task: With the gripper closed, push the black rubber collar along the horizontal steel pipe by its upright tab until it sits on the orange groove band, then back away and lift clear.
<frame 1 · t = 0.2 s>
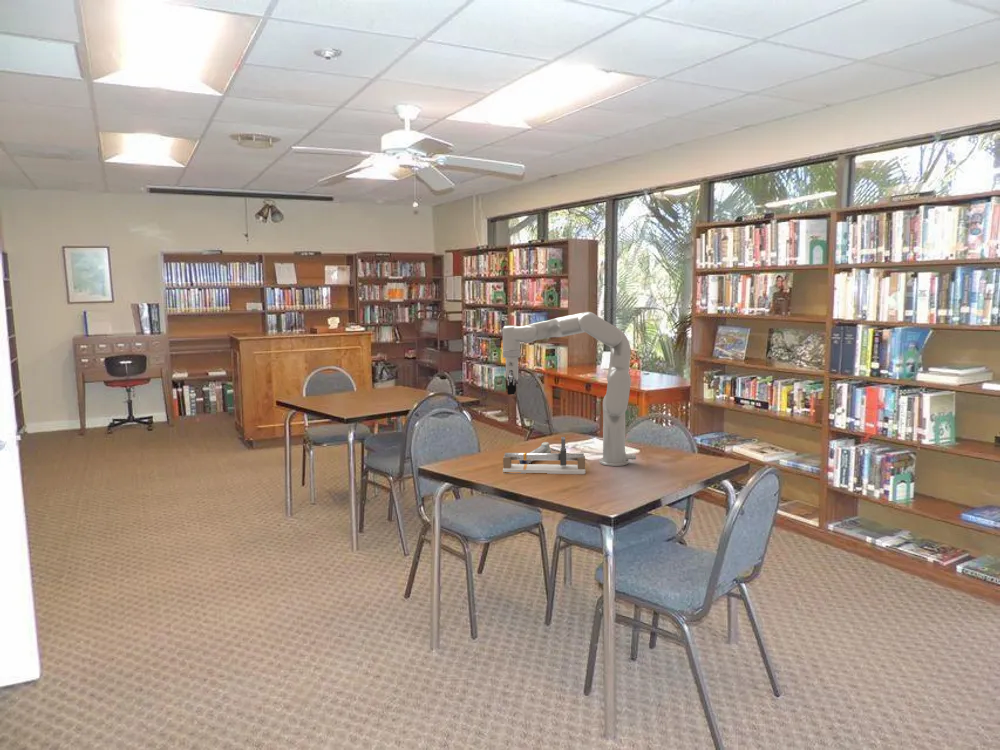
hand: (511, 392, 307), 31 cm above the table, tool pointing down, fingers open, 9 cm apart
pipe: (544, 456, 294), point 6 cm above the table
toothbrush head: (536, 460, 315), on the table
pipe base: (544, 470, 295), on the table
collar: (563, 451, 293), point 9 cm above the table, slide at 0.0 cm
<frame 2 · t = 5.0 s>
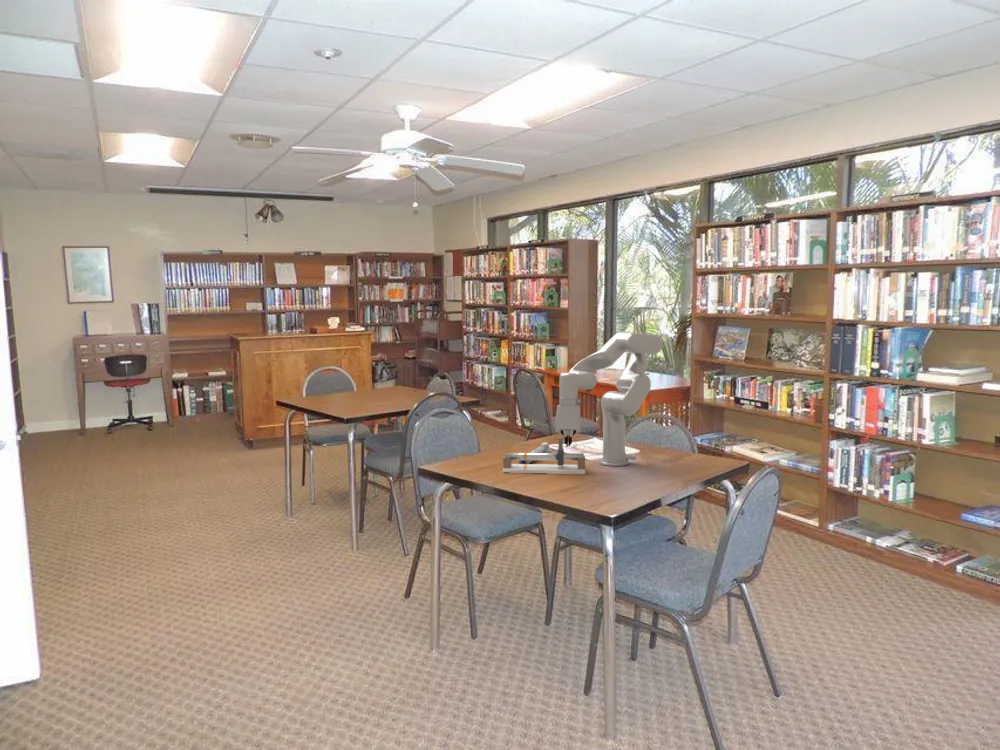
hand: (568, 445, 293), 11 cm above the table, tool pointing down, fingers closed
collar: (560, 451, 293), point 9 cm above the table, slide at 1.1 cm, touching gripper
everything else where it was.
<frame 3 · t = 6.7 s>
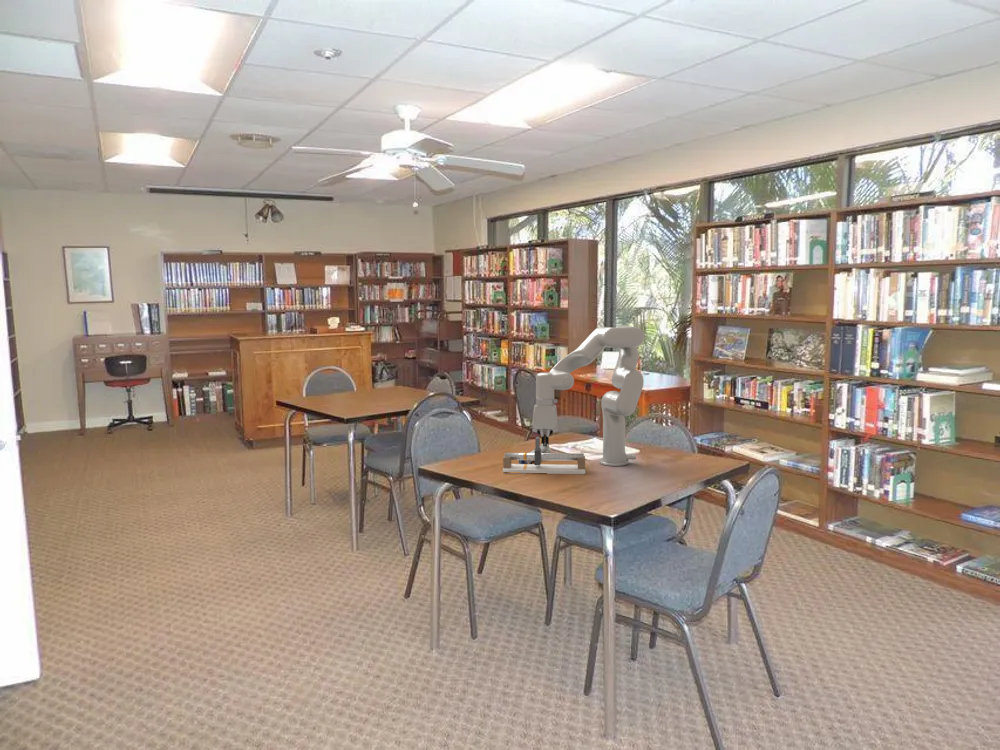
hand: (545, 445, 294), 11 cm above the table, tool pointing down, fingers closed
collar: (537, 450, 294), point 9 cm above the table, slide at 10.7 cm, touching gripper
everything else where it was.
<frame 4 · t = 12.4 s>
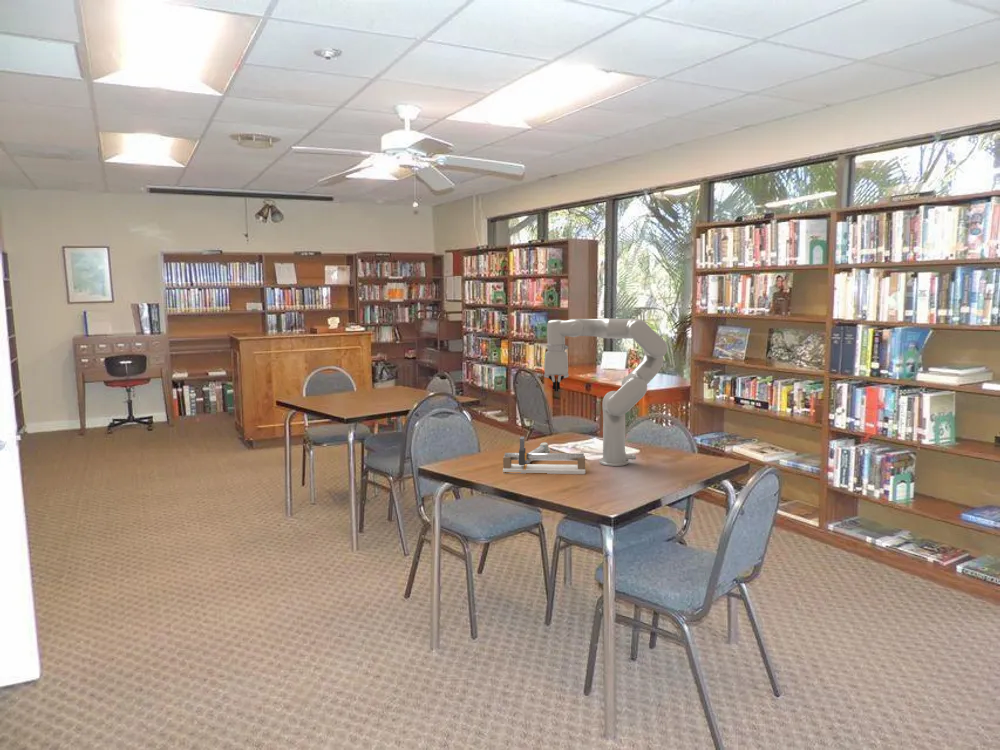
hand: (556, 390, 304), 32 cm above the table, tool pointing down, fingers closed
collar: (522, 450, 295), point 9 cm above the table, slide at 17.2 cm
everything else where it was.
at the end: collar slide at 17.2 cm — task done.
